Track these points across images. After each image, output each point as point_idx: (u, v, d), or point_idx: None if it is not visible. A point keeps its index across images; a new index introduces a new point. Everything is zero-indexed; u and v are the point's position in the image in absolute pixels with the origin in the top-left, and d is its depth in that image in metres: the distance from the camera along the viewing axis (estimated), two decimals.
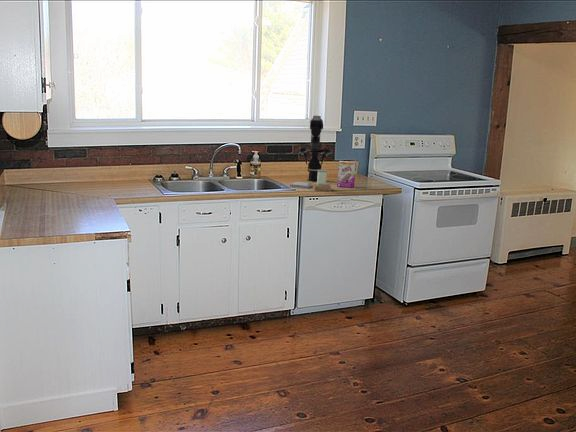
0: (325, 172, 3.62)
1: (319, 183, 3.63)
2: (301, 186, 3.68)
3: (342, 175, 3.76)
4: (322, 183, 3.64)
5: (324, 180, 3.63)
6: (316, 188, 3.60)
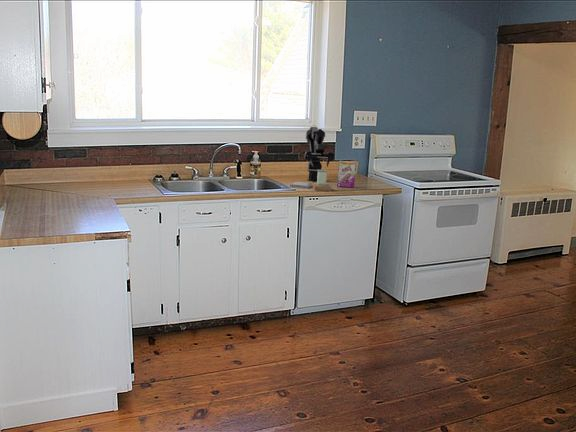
0: (325, 172, 3.62)
1: (319, 183, 3.63)
2: (301, 186, 3.68)
3: (342, 175, 3.76)
4: (322, 183, 3.64)
5: (324, 180, 3.63)
6: (316, 188, 3.60)
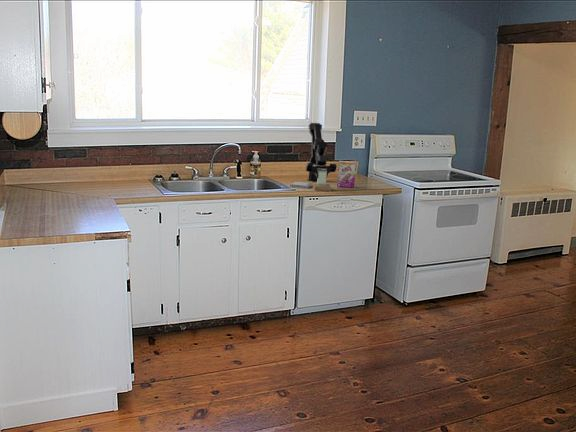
0: (325, 172, 3.62)
1: (319, 183, 3.63)
2: (301, 186, 3.68)
3: (342, 175, 3.76)
4: (322, 183, 3.64)
5: (324, 180, 3.63)
6: (316, 188, 3.60)
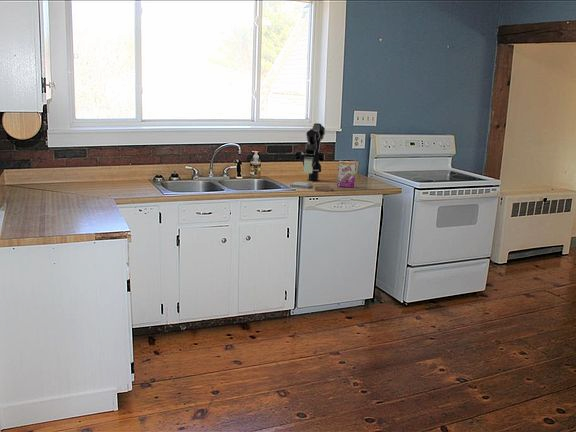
0: (310, 160, 3.65)
1: (305, 171, 3.68)
2: (301, 186, 3.68)
3: (342, 175, 3.76)
4: (308, 171, 3.67)
5: (309, 168, 3.67)
6: (316, 188, 3.60)
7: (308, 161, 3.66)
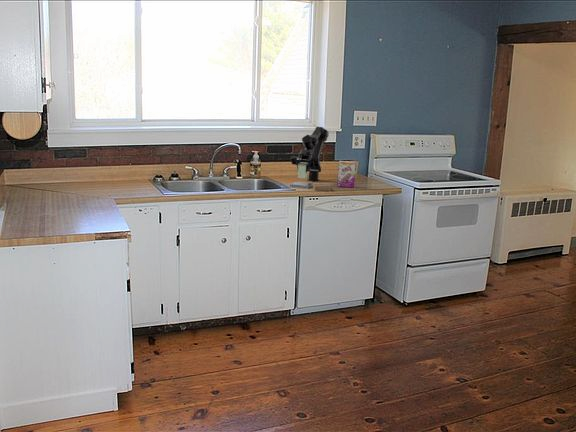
0: (304, 166, 3.69)
1: (299, 176, 3.72)
2: (301, 186, 3.68)
3: (342, 175, 3.76)
4: (301, 176, 3.71)
5: (303, 173, 3.70)
6: (316, 188, 3.60)
7: (302, 166, 3.69)
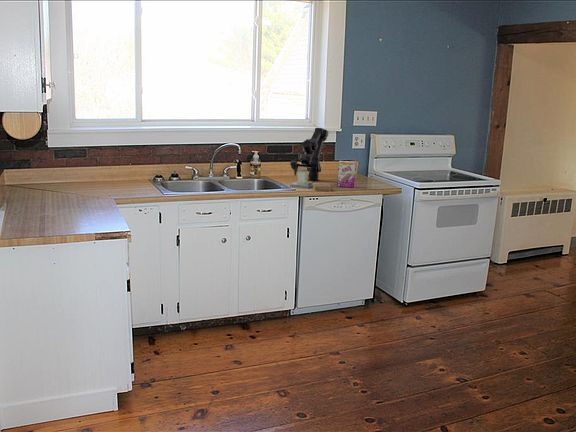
0: (304, 172, 3.70)
1: (298, 182, 3.72)
2: (301, 186, 3.68)
3: (342, 175, 3.76)
4: (301, 182, 3.72)
5: (303, 179, 3.71)
6: (316, 188, 3.60)
7: (301, 172, 3.70)
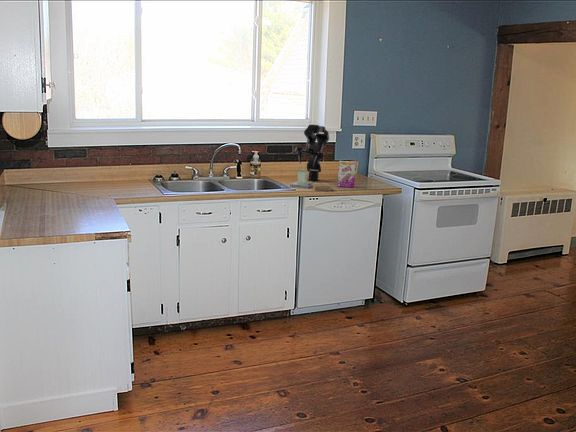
0: (304, 172, 3.70)
1: (298, 182, 3.72)
2: (301, 186, 3.68)
3: (342, 175, 3.76)
4: (301, 182, 3.72)
5: (303, 179, 3.71)
6: (316, 188, 3.60)
7: (301, 172, 3.70)
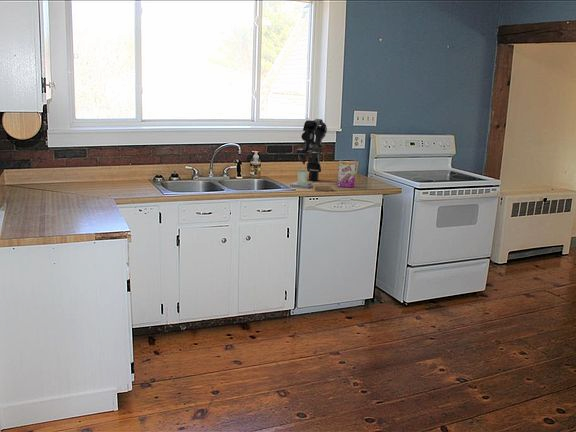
0: (304, 172, 3.70)
1: (298, 182, 3.72)
2: (301, 186, 3.68)
3: (342, 175, 3.76)
4: (301, 182, 3.72)
5: (303, 179, 3.71)
6: (316, 188, 3.60)
7: (301, 172, 3.70)
